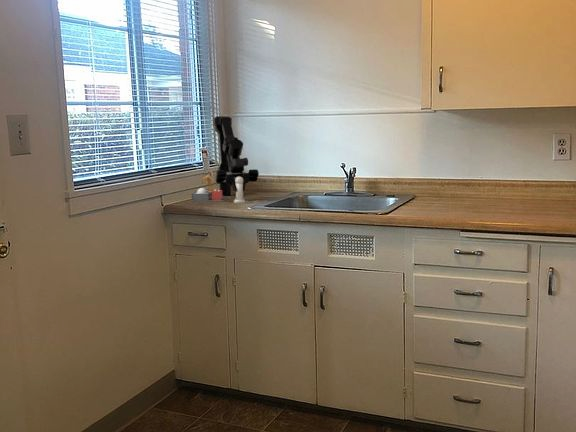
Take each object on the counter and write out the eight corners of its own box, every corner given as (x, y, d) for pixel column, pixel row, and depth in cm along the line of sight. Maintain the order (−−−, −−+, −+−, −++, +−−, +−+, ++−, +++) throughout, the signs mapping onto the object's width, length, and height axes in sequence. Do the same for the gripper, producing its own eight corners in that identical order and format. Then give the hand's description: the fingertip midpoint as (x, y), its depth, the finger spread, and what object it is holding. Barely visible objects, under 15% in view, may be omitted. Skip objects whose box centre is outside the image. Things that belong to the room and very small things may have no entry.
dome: (197, 197, 293) (196, 187, 292) (209, 197, 292) (209, 187, 291) (194, 199, 287) (193, 188, 286) (207, 199, 286) (207, 188, 285)
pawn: (235, 201, 284) (234, 175, 282) (245, 201, 284) (245, 176, 282) (233, 202, 280) (233, 177, 278) (244, 203, 279) (243, 177, 278)
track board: (235, 206, 278) (235, 203, 278) (230, 204, 284) (230, 201, 283) (270, 204, 285) (270, 201, 285) (264, 202, 291) (264, 199, 290)
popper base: (195, 200, 294) (195, 188, 293) (227, 201, 293) (227, 188, 292) (191, 203, 286) (190, 190, 285) (224, 204, 284) (224, 191, 284)
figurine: (221, 199, 301) (220, 173, 299) (214, 200, 296) (213, 174, 294) (206, 197, 305) (206, 172, 303) (199, 199, 300) (198, 173, 298)
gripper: (216, 152, 279) (221, 179, 271) (257, 151, 285) (263, 178, 276) (213, 168, 288) (218, 195, 279) (253, 167, 293) (259, 194, 285)
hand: (240, 190), depth 280 cm, fingers closed on pawn, 3 cm apart
